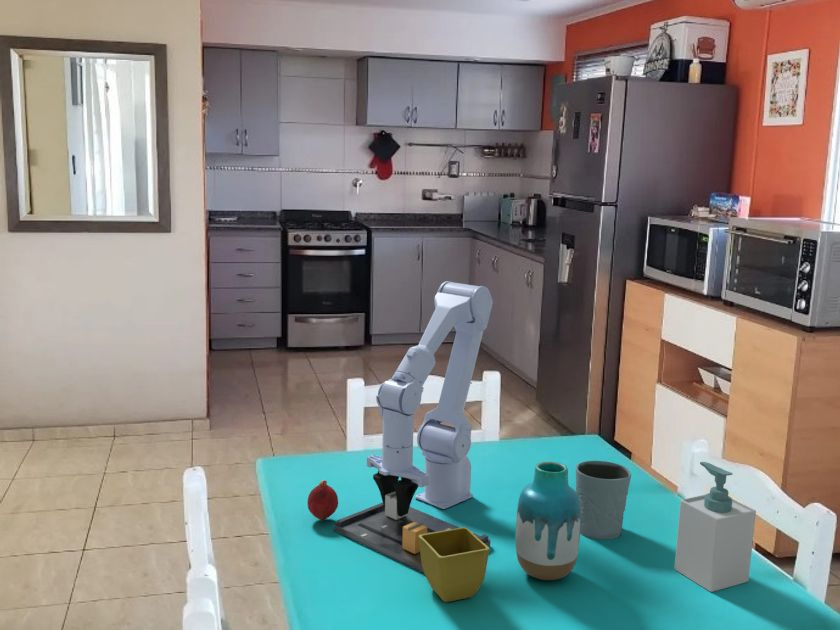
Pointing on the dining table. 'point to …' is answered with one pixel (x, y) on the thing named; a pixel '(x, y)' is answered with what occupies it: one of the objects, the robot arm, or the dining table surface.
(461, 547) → the flower pot
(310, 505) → the onion
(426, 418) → the robot arm
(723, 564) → the soap bottle
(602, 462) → the grey textured cup
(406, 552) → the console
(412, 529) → the fader
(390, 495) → the fader
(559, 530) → the vase
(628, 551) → the dining table surface
